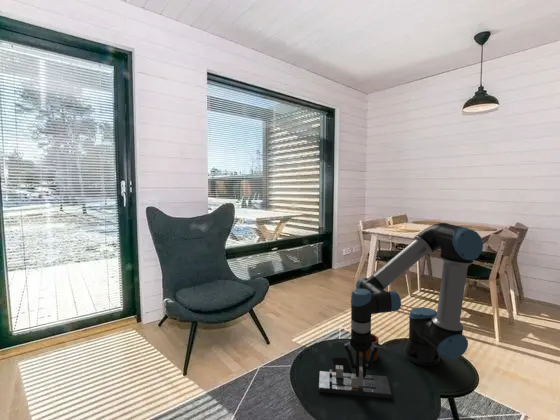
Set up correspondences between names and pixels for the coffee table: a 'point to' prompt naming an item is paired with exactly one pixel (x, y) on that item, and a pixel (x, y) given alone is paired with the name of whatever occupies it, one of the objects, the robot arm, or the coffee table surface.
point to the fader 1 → (339, 371)
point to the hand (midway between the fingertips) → (360, 383)
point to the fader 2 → (354, 381)
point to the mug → (374, 341)
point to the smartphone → (342, 364)
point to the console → (371, 387)
